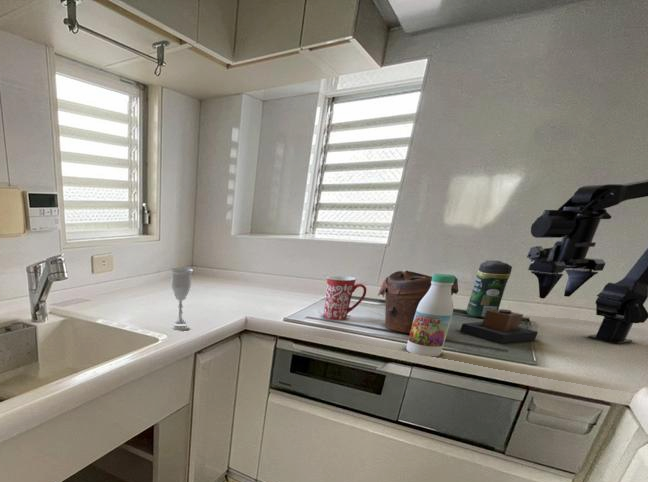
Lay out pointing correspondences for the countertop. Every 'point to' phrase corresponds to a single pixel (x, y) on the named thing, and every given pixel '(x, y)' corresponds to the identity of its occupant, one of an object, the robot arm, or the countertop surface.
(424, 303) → the milk bottle
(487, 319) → the walnut block
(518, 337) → the dark square frame
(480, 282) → the coffee jar
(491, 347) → the countertop surface
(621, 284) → the robot arm
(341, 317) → the mug
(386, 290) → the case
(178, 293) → the chalice
